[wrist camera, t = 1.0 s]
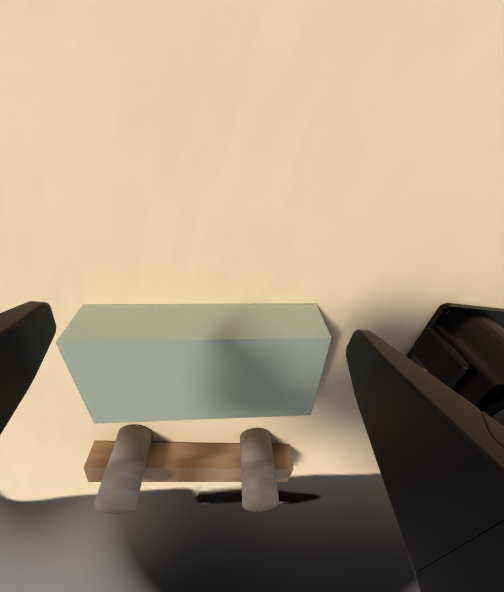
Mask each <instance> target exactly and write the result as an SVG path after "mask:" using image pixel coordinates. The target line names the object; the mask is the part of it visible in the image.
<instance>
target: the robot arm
mask: <svg viewBox="0 0 504 592" xmlns="http://www.w3.org/2000/svg"><path fill="white" fill-rule="evenodd" d="M55 332H56V323H55V320H54V317H53V313H52V310H51V307H50V305H49V304H48V303H46V302H37V301H30V302H27V303H24V304H22V305H19V306H17V307H15V308H12V309H10V310H7V311H5V312H2V313H0V434H1V433H2V431H3V430H4V428H5V426H6V425H7V423H8V421H9V420H10V418H11V416H12V415H13V413H14V412H15V410H16V408H17V407H18V405H19V403H20V402H21V400H22V399H23V397H24V395H25V394H26V392H27V390H28V389H29V387H30V385H31V383H32V382H33V380H34V378H35V376H36V374H37V372H38V369H39V367H40V365H41V363H42V361H43V359H44V357H45V354H46V352H47V350H48V348H49V346H50V344H51V342H52V339H53V337H54V335H55ZM346 357H347V362H348V366H349V371H350V375H351V380H352V384H353V389H354V393H355V397H356V400H357V404H358V407H359V410H360V413H361V416H362V419H363V422H364V425H365V428H366V430H367V433H368V436H369V439H370V442H371V445H372V448H373V451H374V454H375V457H376V460H377V463H378V466H379V469H380V472H381V475H382V478H383V481H384V484H385V487H386V490H387V493H388V496H389V499H390V502H391V505H392V508H393V511H394V514H395V516H396V519H397V522H398V526H399V529H400V531H401V534H402V537H403V540H404V543H405V546H406V549H407V552H408V555H409V558H410V561H411V564H412V567H413V570H414V572H415V577H416V580H417V583H418V586H419V588H420V592H504V309H499V308H490V307H480V306H471V305H461V304H452V303H446V304H443V305H442V306H440V307H439V309H438V310H437V312H436V313H435V315H434V316H433V318H432V319H431V321H430V322H429V324H428V325H427V327H426V328H425V330H424V332H423V333H422V335H421V336H420V338H419V339H418V341H417V342H416V344H415V345H414V347H413V348H412V350H411V351H410V353H409V354H408V356H407V357H406V356H404V355H403V354H402V353H400V352H399V351H397V350H396V349H395V348H393V347H392V346H390V345H389V344H388V343H386V342H385V341H383V340H382V339H381V338H379V337H378V336H376V335H375V334H374V333H372V332H371V331H369V330H360V329H358V330H356V331H355V332H354V333H353V335H352V337H351V339H350V342H349V344H348V346H347V348H346ZM424 369H426V371H425V370H424Z"/></svg>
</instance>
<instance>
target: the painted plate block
mask: <svg viewBox="0 0 504 592" xmlns="http://www.w3.org/2000/svg"><path fill="white" fill-rule="evenodd" d="M330 342H331V335H330V333H329V331H328V329H327V326H326V324H325V322H324V320H323V317H322V315H321V313H320V311H319V308H318V306H317V304H316V303H290V304H89V305H82V307H81V308H80V310H79V311H78V312H77V314H76V315H75V316H74V318H73V319H72V320H71V322H70V323H69V325H68V326H67V327H66V329H65V330H64V331H63V333H62V334H61V335H60V337H59V338H58V339H57V341H56V344H57V347H58V349H59V351H60V353H61V355H62V357H63V359H64V361H65V363H66V365H67V367H68V370H69V372H70V374H71V376H72V378H73V380H74V382H75V384H76V386H77V388H78V390H79V393H80V395H81V397H82V399H83V401H84V403H85V405H86V407H87V409H88V411H89V414H90V416H91V418H92V420H93V422H94V423H119V422H145V421H170V420H196V419H221V418H247V417H272V416H298V415H311V412H312V408H313V404H314V401H315V397H316V393H317V390H318V386H319V382H320V379H321V375H322V371H323V368H324V364H325V360H326V356H327V353H328V349H329V345H330Z"/></svg>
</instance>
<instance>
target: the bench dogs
mask: <svg viewBox="0 0 504 592" xmlns="http://www.w3.org/2000/svg"><path fill="white" fill-rule="evenodd" d="M152 436H153V434H152V432H151V430H150V429H148V428H146V427H144V426H141V425H127V426H124V427H122V428H121V429H120V430H119V432H118V435H117V438H116V441H94V443H93V446H92V448H91V451H90V453H89V456H88V458H87V461H86V463H85V466H84V470H85V473H86V476H87V479H88V482H101V485H100V488H99V491H98V494H97V497H96V500H95V503H94V507H95V508H96V509H97V510H99V511H101V512H105V513H111V514H122V513H128V512H131V511H133V510H134V509H135V508H136V504H137V500H138V496H139V491H140V487H141V483H142V482H242V506H243V508H244V509H246V510H249V511H266V510H269V509H272V508H274V507H276V506H277V505H278V504H279V498H278V490H277V482H278V481H279V482H287V481H288V479H289V477H290V475H291V473H292V471H293V464H292V458H291V453H290V447H289V445H285V444H272V443H271V435H270V433H269V431H267V430H265V429H262V428H253V429H249V430H246V431H244V432H243V433H242V434H241V436H240V444H232V443H179V442H151V440H152Z"/></svg>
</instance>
